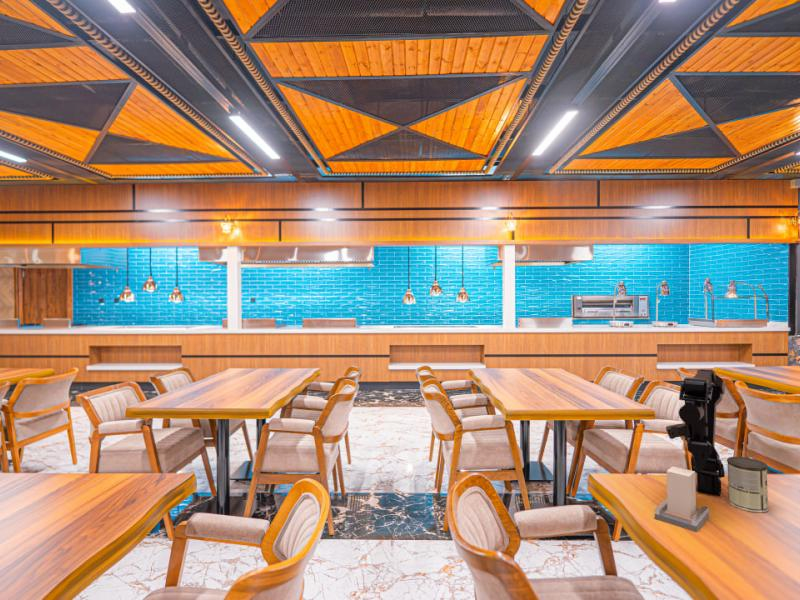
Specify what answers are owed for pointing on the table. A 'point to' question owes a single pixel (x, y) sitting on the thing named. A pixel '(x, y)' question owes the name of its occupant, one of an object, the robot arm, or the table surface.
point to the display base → (681, 521)
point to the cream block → (681, 492)
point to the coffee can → (747, 484)
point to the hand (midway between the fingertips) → (697, 466)
